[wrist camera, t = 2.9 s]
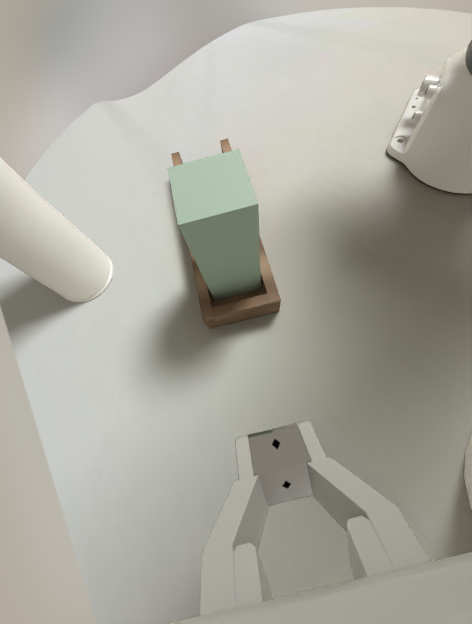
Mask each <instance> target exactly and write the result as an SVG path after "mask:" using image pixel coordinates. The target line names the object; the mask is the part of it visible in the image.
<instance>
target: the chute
mask: <svg viewBox="0 0 472 624" xmlns="http://www.w3.org/2000/svg"><path fill="white" fill-rule="evenodd" d="M220 142H221V148H222V153H225V152H229V151H232V150H231V147H230V144H229V141H228V139H225V140H221V141H220ZM171 155H172V160H173V165H174V166H177V165H181V164H183V163H182V160H181V157H180V154H179V152H177V153H173V154H171ZM259 245H260V274H261V289H258V290H254V291H250V292H246V293H243V294H239V295H235V296H231V297H227V298H223V299H219V300H215V301H214V298H213V296H212V294H211V292H210V290H209V288H208V286H207V284H206V282H205V280H204V278H203V276H202V274H201V272H200V270H199V268H198V266H197V263H196V261H195V259H194V257H193V255H192V253H191V251H190V254H191V259H192V264H193V270H194V275H195V280H196V285H197V290H198V296H199V301H200V306H201V311H202V317H203V320H204V322H205V323H206V325H207V326H208V327H209V329H211V328H215V327H219V326H223V325H227V324H230V323H234V322H238V321H242V320H246V319H250V318H254V317H258V316H262V315H266V314H270V313H273V312H277V311H279V308H280V301H281V300H280V296H279V293H278V290H277V287H276V284H275V281H274V278H273V275H272V272H271V269H270V266H269V263H268V260H267V257H266V254H265V251H264V248H263V245H262V242H261V238H260V235H259Z"/></svg>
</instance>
